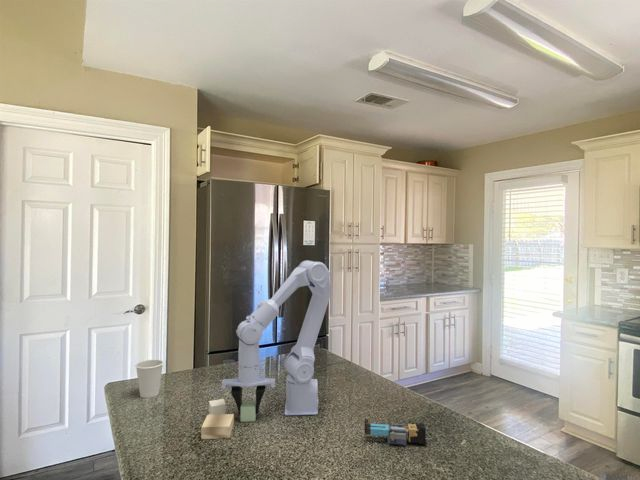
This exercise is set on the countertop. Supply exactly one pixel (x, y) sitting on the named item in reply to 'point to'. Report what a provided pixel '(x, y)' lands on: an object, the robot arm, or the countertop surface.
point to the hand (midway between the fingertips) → (248, 412)
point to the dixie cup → (149, 377)
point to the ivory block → (217, 407)
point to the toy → (398, 432)
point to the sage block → (248, 411)
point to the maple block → (217, 426)
